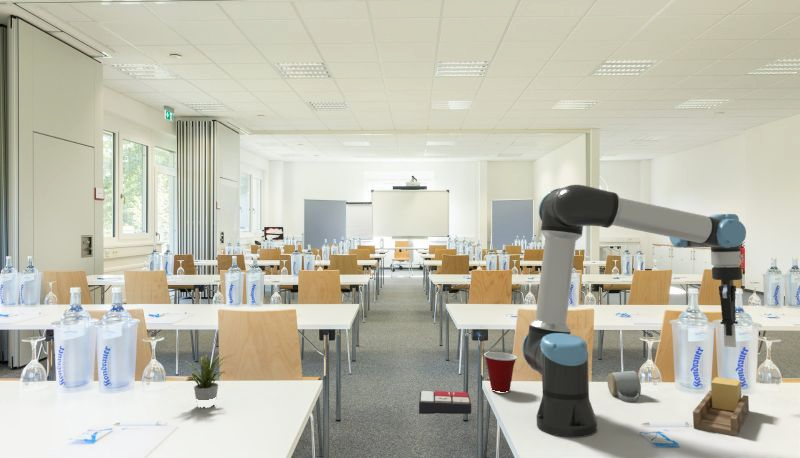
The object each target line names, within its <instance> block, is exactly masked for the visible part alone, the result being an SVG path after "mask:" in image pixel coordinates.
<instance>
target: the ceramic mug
mask: <svg viewBox="0 0 800 458" xmlns="http://www.w3.org/2000/svg"><path fill="white" fill-rule="evenodd" d="M606 380H607V387H608V391H609V393H610V395H612V396H613V397H618V398H619V399H621V400H623V401H624V402H627V403H628V402H629V403H635V402H637V401H638V400H639V398H640V396H641V392H642V390H641V389H642V386H641V381H640V377H639V375H638V373H637V371H635V370H628V371H616V372H611V373H609V374H608V375H607V379H606Z"/></svg>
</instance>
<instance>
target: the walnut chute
mask: <svg viewBox="0 0 800 458" xmlns="http://www.w3.org/2000/svg"><path fill="white" fill-rule="evenodd" d="M749 403H750V401H749V395H742V396H741V400H740V402H739V404H738V405H737V407H736V409H735V411H730V410H724V409H717V408H712V394H711V390H709V391H708V392H707V393H706V395H705V396H704V397H703V398H702V400H701V401H700V402H699V404H698V405H697V406H696V407H695V409H694V410H693V411H692V417H693V418H692V419H693V420H692V421H693V422H692V423H693V429H695V430H701V431H706V432H712V433H716V434H723V435H726V436H727V435H728V436H734V437H738V435H739V433H740V431H741V428H742V426H743V425H744V423H745V420H746V418H747V416H748V414H749V412H750V405H749Z"/></svg>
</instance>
